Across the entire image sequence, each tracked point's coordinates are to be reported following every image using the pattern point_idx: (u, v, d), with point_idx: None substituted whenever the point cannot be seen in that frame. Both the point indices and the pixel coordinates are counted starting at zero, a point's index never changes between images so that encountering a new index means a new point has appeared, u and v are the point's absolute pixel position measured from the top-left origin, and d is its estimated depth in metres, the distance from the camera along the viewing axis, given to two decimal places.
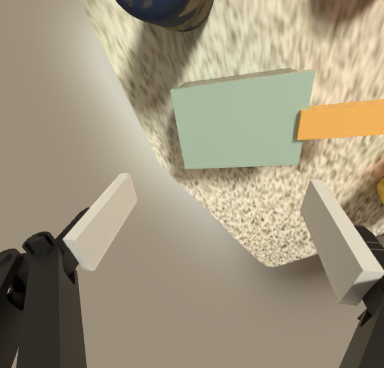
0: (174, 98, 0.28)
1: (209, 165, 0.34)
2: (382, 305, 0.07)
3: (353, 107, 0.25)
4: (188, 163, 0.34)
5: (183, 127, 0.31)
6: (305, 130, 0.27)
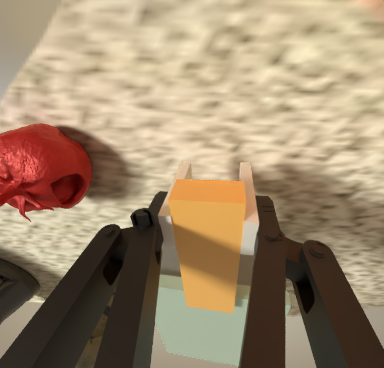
0: (174, 352, 0.28)
1: None
2: (256, 253, 0.09)
3: (181, 267, 0.14)
4: None
5: (204, 357, 0.27)
6: (217, 306, 0.16)
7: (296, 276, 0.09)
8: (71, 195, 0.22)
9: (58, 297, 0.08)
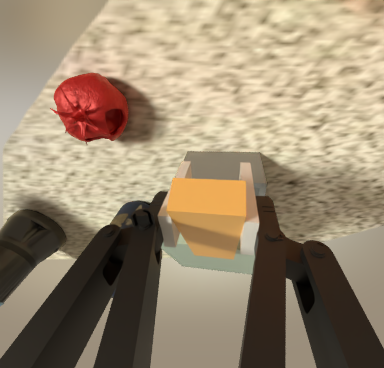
0: (188, 266, 0.36)
1: None
2: (256, 253, 0.09)
3: (186, 240, 0.15)
4: (248, 273, 0.34)
5: (211, 269, 0.35)
6: (219, 256, 0.19)
7: (296, 276, 0.09)
8: (114, 129, 0.30)
9: (58, 297, 0.08)
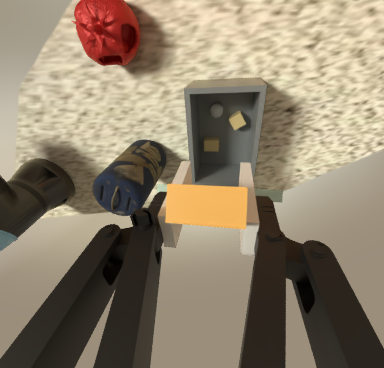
0: None
1: None
2: (256, 253, 0.09)
3: None
4: None
5: None
6: None
7: (296, 276, 0.09)
8: (127, 51, 0.33)
9: (58, 297, 0.08)
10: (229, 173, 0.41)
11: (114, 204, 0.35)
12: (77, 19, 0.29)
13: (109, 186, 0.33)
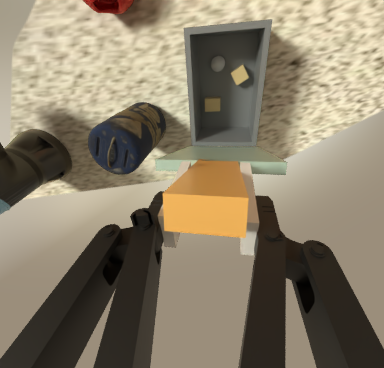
0: None
1: None
2: (256, 253, 0.09)
3: None
4: None
5: None
6: None
7: (296, 276, 0.09)
8: None
9: (58, 297, 0.08)
10: (231, 134, 0.40)
11: (111, 160, 0.34)
12: None
13: (105, 137, 0.31)
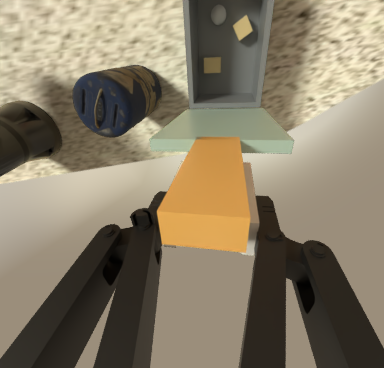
0: None
1: None
2: (256, 253, 0.09)
3: None
4: None
5: None
6: None
7: (296, 276, 0.09)
8: None
9: (58, 297, 0.08)
10: (232, 97, 0.36)
11: (98, 118, 0.30)
12: None
13: (91, 89, 0.28)
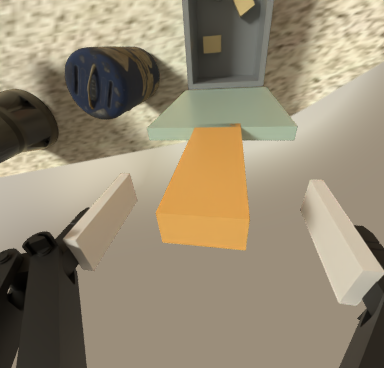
0: None
1: None
2: (382, 305, 0.07)
3: None
4: None
5: None
6: None
7: None
8: None
9: None
10: (234, 78, 0.34)
11: (92, 98, 0.28)
12: None
13: (84, 66, 0.26)
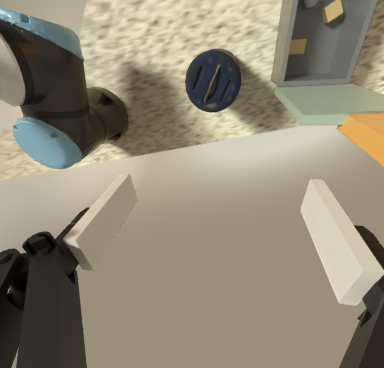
0: None
1: None
2: (382, 305, 0.07)
3: (363, 149, 0.19)
4: None
5: None
6: None
7: None
8: None
9: None
10: (315, 76, 0.39)
11: None
12: None
13: (209, 65, 0.31)
